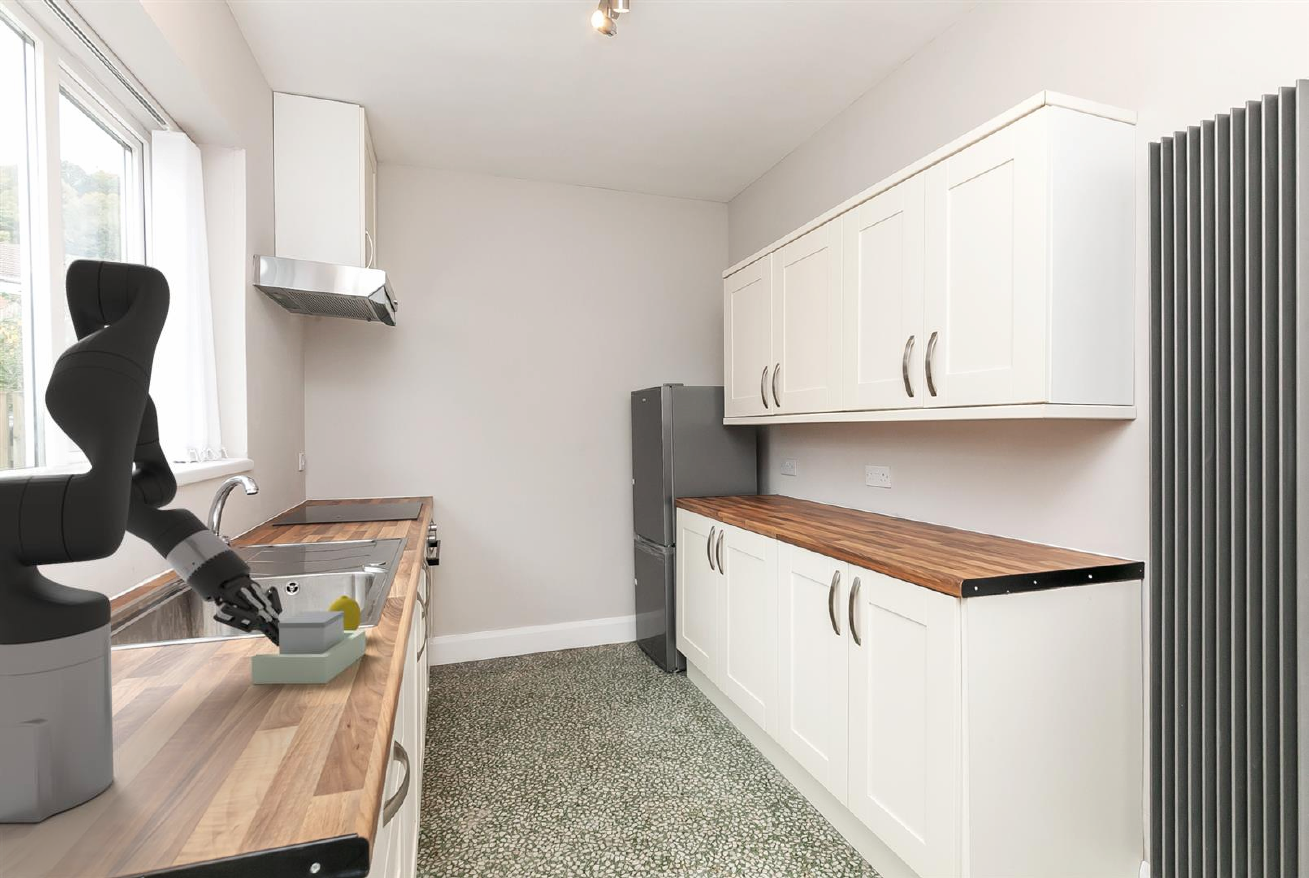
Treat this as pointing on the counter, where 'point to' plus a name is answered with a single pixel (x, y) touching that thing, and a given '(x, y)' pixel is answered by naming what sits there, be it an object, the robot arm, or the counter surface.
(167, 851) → the counter surface
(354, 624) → the lemon
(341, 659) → the bay
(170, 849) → the counter surface
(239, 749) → the counter surface
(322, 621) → the lidded grey box
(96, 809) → the counter surface
